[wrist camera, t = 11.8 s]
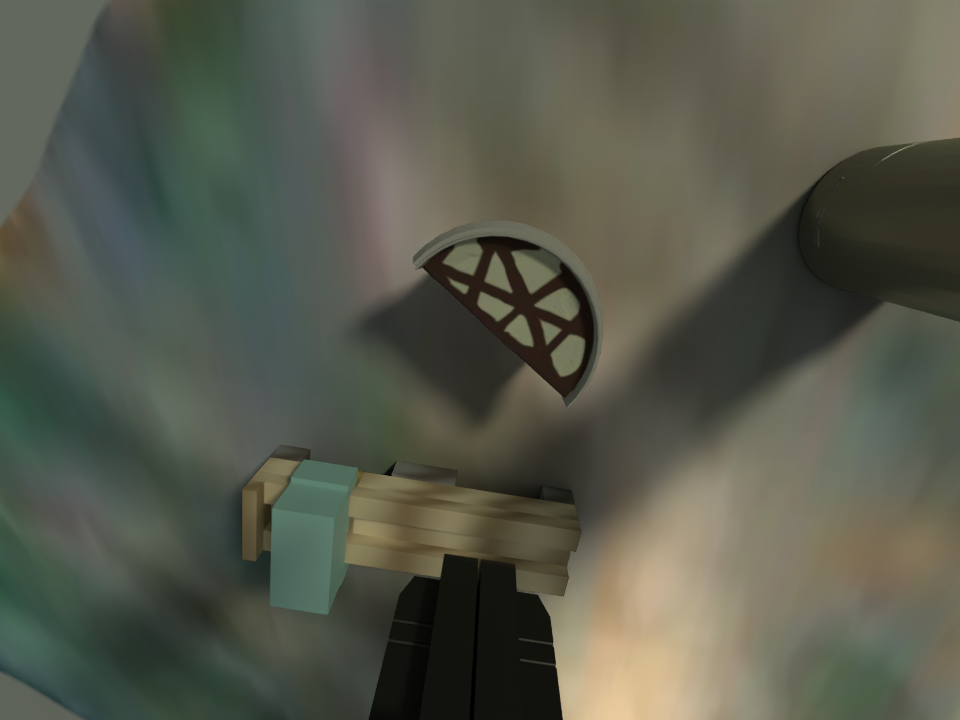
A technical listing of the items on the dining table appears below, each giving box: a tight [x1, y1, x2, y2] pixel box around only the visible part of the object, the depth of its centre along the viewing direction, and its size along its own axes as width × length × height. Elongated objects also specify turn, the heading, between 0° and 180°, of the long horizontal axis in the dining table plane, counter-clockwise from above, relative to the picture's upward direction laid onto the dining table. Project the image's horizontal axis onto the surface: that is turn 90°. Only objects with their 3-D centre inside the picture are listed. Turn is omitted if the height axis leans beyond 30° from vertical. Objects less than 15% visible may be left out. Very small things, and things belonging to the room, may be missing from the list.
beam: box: [242, 445, 581, 596], centre depth 38 cm, size 24×6×6 cm, turn 81°
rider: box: [270, 459, 358, 615], centre depth 35 cm, size 4×9×5 cm, turn 171°
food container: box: [413, 220, 603, 408], centre depth 30 cm, size 12×6×10 cm, turn 47°
